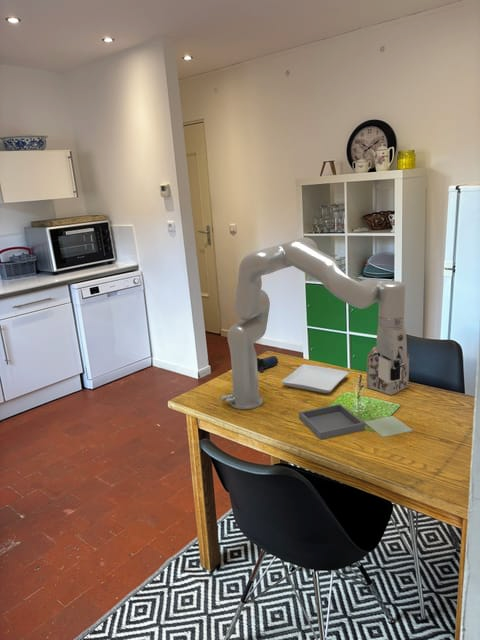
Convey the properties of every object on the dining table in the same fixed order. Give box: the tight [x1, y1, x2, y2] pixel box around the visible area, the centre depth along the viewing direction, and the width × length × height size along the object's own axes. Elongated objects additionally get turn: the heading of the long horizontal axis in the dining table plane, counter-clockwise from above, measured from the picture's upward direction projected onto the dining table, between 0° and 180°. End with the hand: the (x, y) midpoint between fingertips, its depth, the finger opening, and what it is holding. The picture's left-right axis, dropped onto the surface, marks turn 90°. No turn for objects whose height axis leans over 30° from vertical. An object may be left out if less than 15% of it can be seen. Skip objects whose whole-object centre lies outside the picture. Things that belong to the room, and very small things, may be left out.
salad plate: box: [281, 363, 350, 394], centre depth 200 cm, size 21×21×3 cm
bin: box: [298, 403, 366, 441], centre depth 164 cm, size 16×16×3 cm
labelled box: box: [378, 356, 402, 383], centre depth 155 cm, size 5×5×7 cm
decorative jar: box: [366, 346, 410, 396], centre depth 189 cm, size 12×12×18 cm
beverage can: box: [257, 355, 279, 374], centre depth 219 cm, size 9×8×12 cm
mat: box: [363, 415, 414, 438], centre depth 161 cm, size 11×11×1 cm
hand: (389, 376), depth 156 cm, fingers closed on labelled box, 5 cm apart
